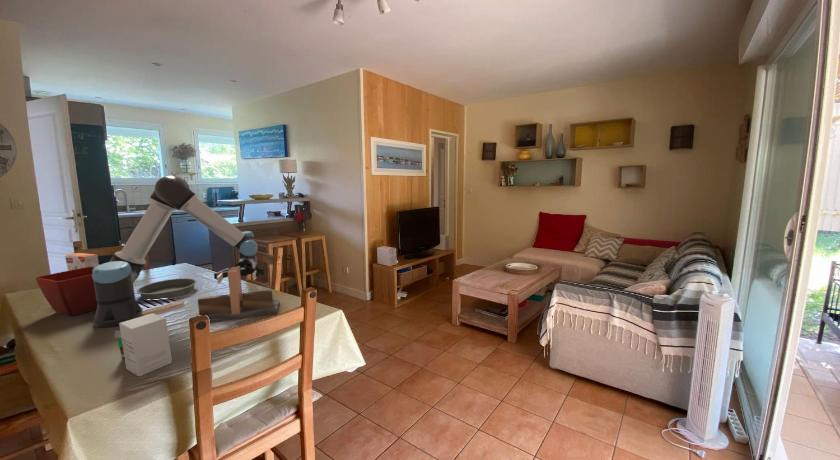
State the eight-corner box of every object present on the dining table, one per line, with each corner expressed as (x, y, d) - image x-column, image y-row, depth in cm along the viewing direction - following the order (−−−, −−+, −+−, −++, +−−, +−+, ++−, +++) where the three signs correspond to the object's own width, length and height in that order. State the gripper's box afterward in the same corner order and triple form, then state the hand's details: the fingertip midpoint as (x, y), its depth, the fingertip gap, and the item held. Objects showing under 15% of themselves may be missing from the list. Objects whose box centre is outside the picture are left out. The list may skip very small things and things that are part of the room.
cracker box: (71, 295, 172) (64, 254, 169) (85, 291, 178) (79, 252, 175) (90, 298, 168) (83, 256, 165) (104, 294, 174) (98, 253, 171)
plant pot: (41, 314, 149) (34, 276, 146) (96, 300, 166) (90, 266, 163) (64, 321, 141) (57, 281, 139) (119, 305, 159) (114, 269, 156)
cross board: (199, 311, 150) (197, 293, 148) (279, 302, 159) (277, 285, 158) (189, 324, 136) (187, 304, 135) (276, 313, 146) (275, 295, 145)
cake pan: (138, 292, 177) (137, 284, 176) (195, 283, 192) (194, 275, 191) (136, 306, 158) (135, 297, 157) (200, 294, 172) (199, 286, 172)
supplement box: (159, 355, 112) (153, 312, 110) (173, 363, 108) (167, 317, 106) (125, 369, 105) (118, 322, 103) (138, 377, 100) (131, 328, 98)
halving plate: (235, 306, 151) (231, 267, 149) (243, 306, 152) (239, 266, 150) (231, 314, 143) (227, 272, 140) (239, 313, 144) (235, 271, 141)
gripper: (273, 271, 171) (268, 284, 151) (216, 276, 164) (203, 290, 144) (272, 257, 170) (267, 267, 150) (214, 261, 163) (201, 273, 143)
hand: (236, 278), depth 147 cm, fingers open, 13 cm apart
